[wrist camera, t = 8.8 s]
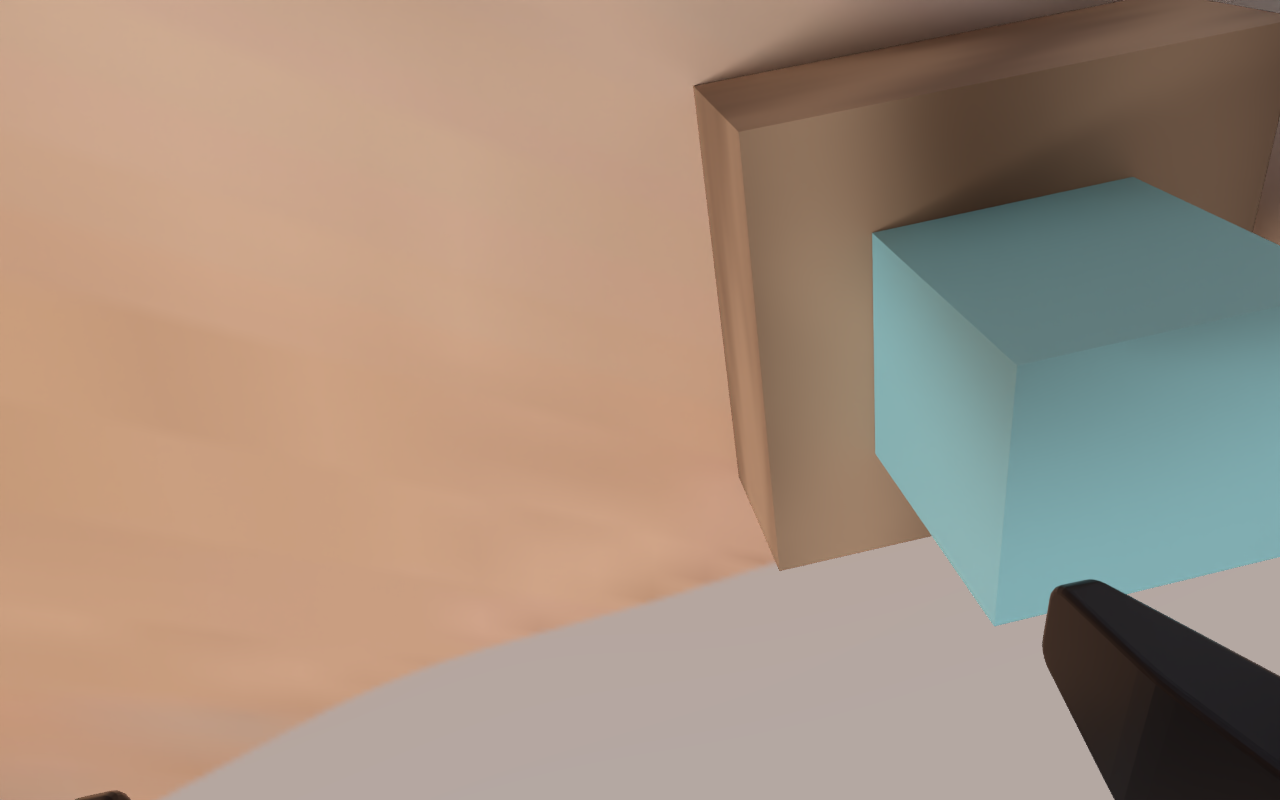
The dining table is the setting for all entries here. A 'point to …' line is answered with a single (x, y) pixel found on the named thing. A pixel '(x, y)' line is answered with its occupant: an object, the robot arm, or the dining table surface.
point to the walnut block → (938, 208)
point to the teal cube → (1081, 391)
